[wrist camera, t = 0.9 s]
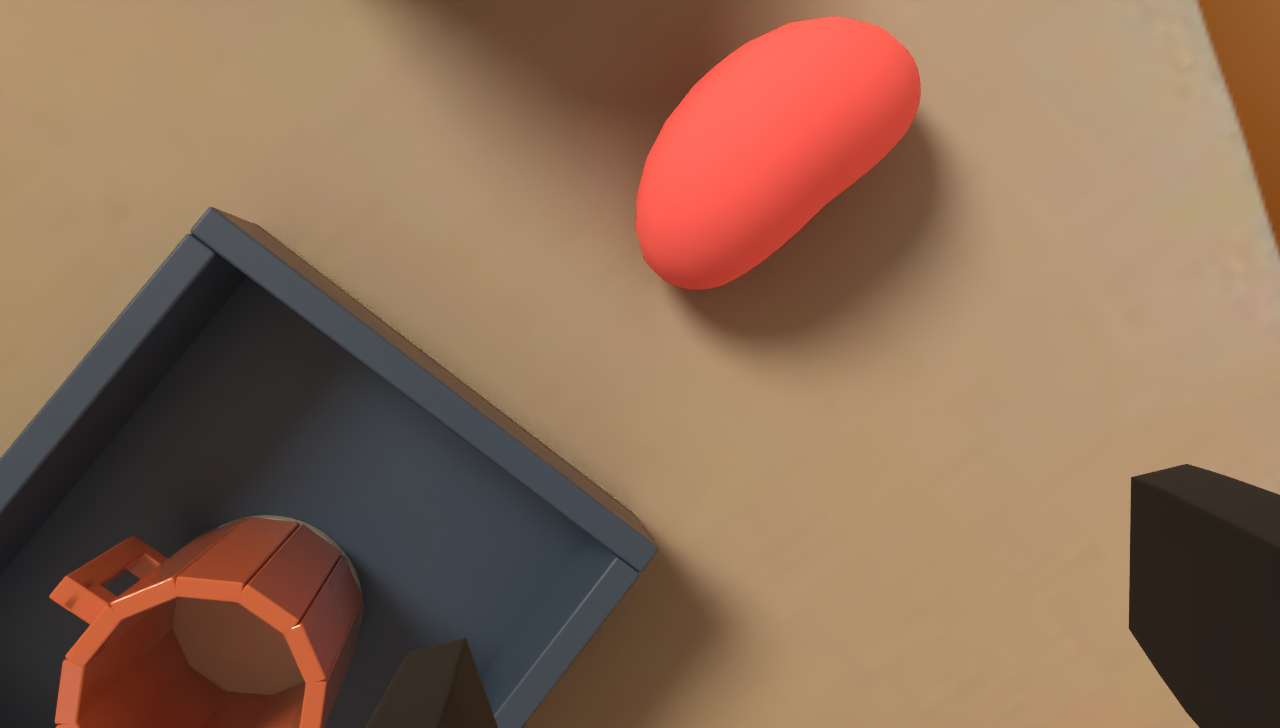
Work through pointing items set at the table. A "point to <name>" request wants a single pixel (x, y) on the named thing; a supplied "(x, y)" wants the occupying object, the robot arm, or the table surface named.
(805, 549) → the table surface
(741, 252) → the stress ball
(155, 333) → the bin
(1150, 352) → the table surface
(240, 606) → the cup
